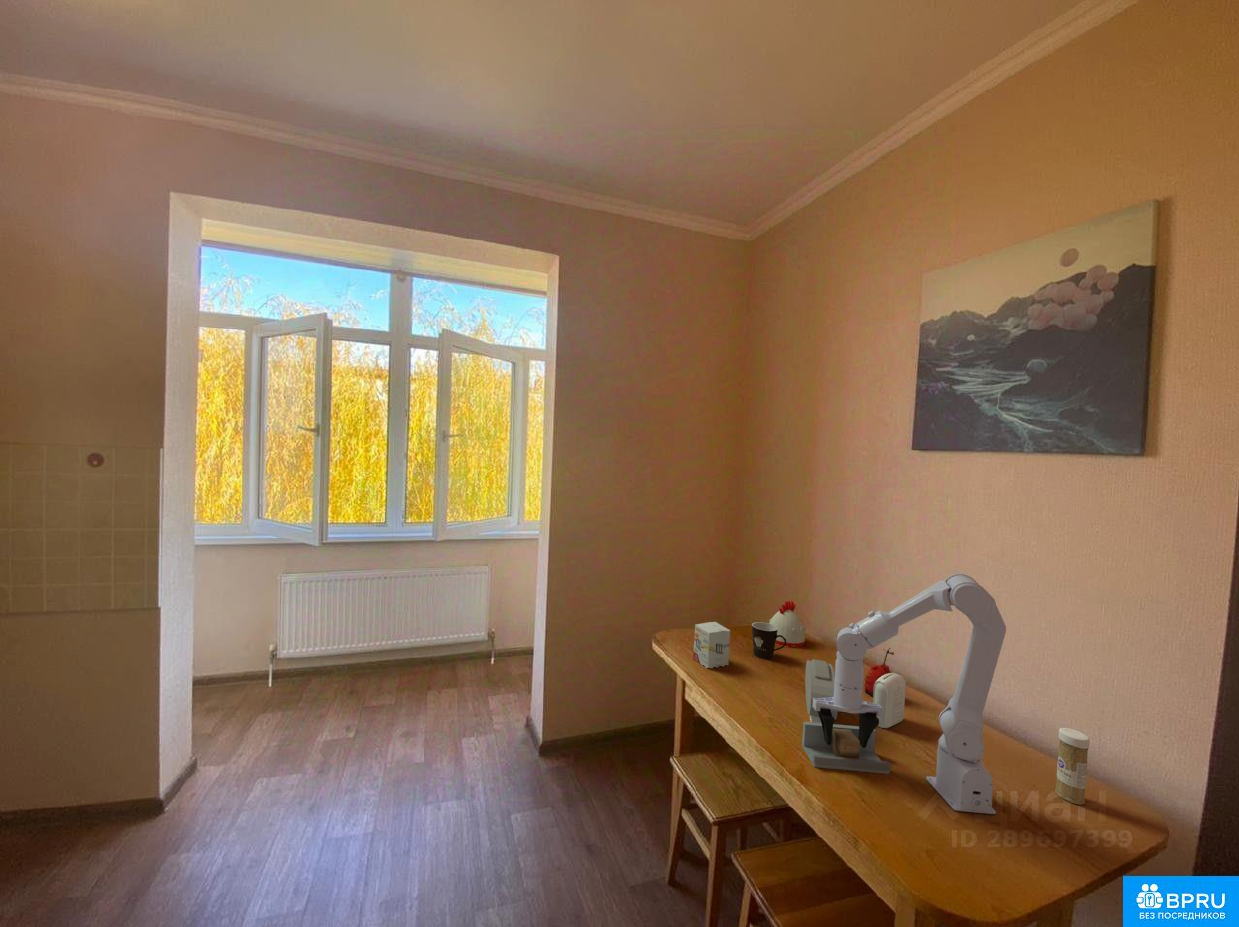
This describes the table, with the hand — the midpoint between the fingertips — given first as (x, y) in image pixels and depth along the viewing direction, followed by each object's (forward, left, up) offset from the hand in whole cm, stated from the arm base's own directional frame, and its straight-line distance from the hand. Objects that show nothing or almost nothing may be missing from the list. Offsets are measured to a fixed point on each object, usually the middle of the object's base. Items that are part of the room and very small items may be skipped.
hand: (844, 743), depth 106 cm
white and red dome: (+73, -9, -4) cm, 74 cm away
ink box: (+47, +23, -4) cm, 53 cm away
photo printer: (+18, -19, -4) cm, 27 cm away
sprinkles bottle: (-7, -43, -4) cm, 44 cm away
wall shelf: (0, 0, -3) cm, 3 cm away
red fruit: (+33, -24, -4) cm, 41 cm away
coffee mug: (+55, +3, -4) cm, 56 cm away
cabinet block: (0, 0, -3) cm, 3 cm away
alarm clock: (+20, -2, -4) cm, 21 cm away
